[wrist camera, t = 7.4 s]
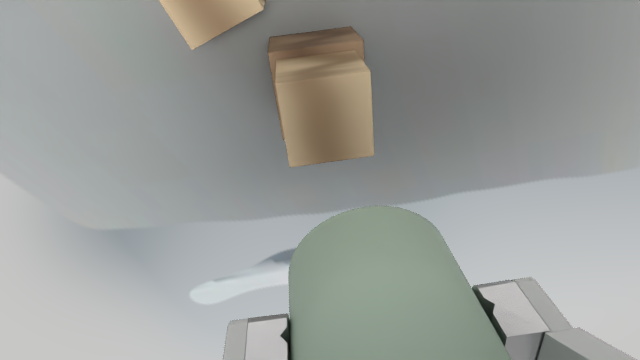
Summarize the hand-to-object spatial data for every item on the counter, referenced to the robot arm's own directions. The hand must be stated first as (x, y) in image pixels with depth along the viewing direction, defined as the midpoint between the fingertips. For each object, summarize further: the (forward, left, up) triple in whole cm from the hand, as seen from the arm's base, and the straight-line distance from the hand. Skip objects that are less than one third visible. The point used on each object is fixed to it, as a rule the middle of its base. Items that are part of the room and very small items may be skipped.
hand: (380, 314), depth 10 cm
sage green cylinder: (0, 0, -2) cm, 2 cm away
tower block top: (0, 0, -18) cm, 18 cm away
